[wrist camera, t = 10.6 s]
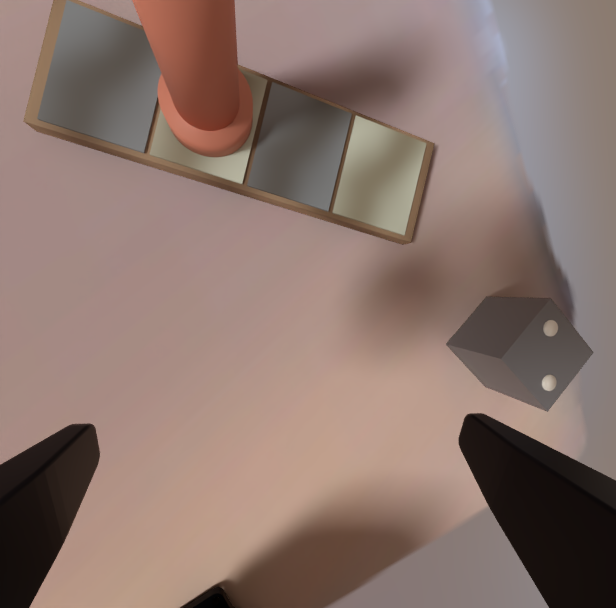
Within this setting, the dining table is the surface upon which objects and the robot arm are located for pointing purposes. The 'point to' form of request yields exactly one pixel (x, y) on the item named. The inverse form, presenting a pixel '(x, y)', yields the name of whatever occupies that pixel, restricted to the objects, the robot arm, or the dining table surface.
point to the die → (521, 348)
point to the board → (256, 150)
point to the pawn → (199, 73)
